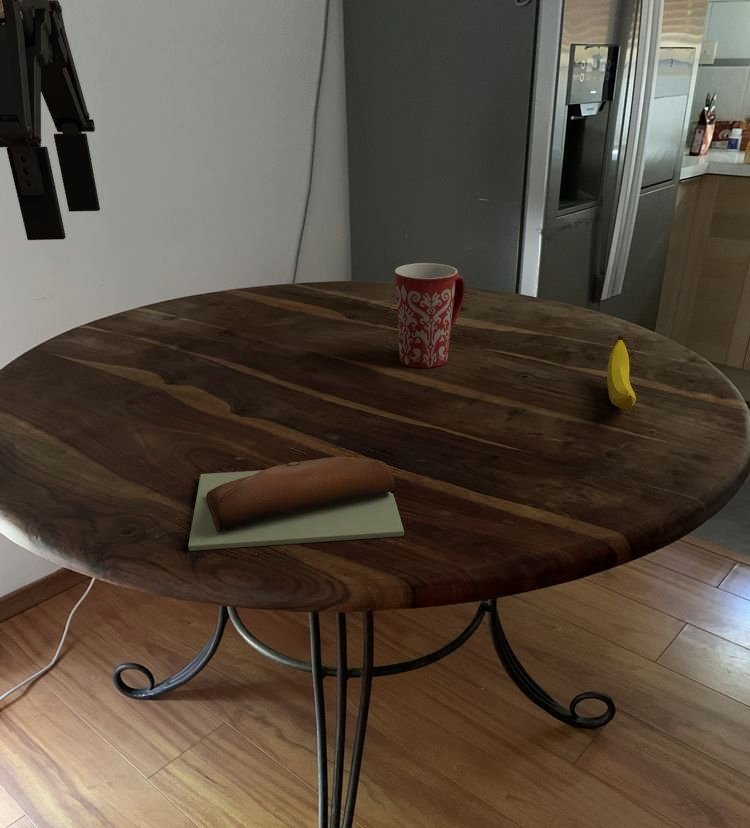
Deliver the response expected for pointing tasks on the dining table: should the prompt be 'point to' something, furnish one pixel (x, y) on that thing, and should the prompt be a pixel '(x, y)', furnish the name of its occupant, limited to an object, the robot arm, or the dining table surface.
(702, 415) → the dining table surface
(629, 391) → the banana
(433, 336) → the mug
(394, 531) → the mat
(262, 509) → the sunglasses case
